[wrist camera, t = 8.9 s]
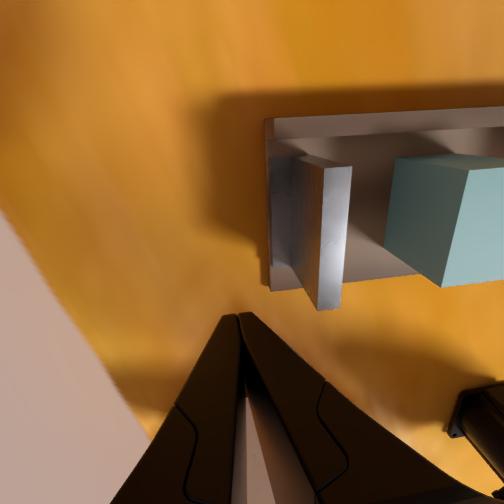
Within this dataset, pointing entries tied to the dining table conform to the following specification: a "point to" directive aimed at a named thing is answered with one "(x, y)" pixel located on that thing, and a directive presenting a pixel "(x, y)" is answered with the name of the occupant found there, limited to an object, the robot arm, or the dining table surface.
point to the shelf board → (376, 170)
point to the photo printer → (256, 466)
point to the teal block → (448, 217)
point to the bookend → (310, 223)
